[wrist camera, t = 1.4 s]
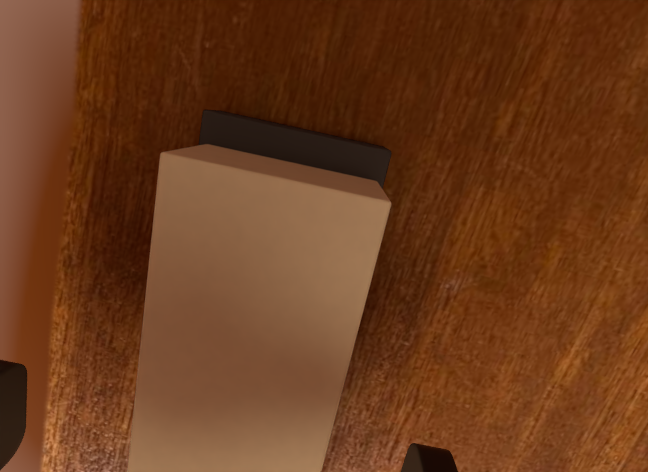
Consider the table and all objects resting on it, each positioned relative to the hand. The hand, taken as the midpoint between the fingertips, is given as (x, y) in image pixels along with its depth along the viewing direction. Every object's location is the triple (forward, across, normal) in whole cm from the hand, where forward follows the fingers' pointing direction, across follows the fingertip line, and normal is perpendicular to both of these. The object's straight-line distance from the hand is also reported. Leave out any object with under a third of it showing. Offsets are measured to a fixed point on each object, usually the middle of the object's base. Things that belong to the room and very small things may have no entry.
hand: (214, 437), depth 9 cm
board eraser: (+8, 0, +1) cm, 8 cm away
